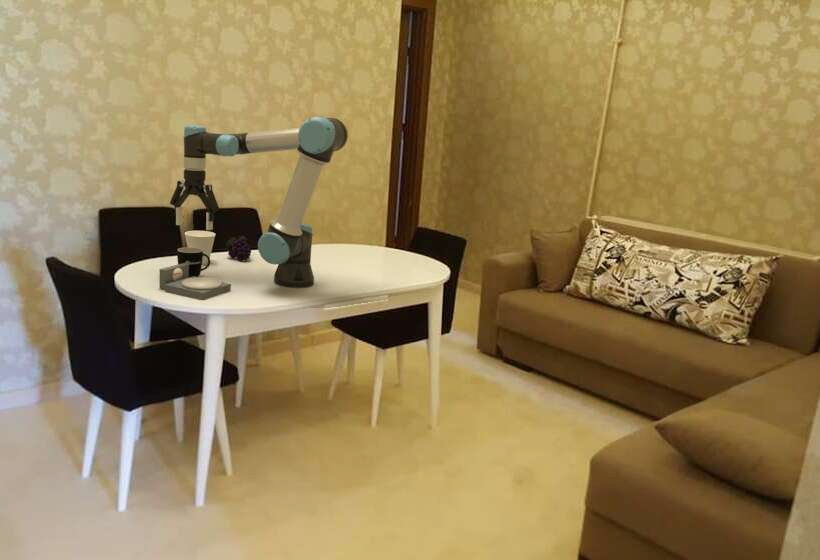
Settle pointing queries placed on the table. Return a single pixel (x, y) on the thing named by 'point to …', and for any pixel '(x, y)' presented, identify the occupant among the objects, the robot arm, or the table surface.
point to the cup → (201, 242)
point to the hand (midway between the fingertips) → (194, 227)
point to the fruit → (238, 248)
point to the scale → (190, 283)
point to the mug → (192, 259)
